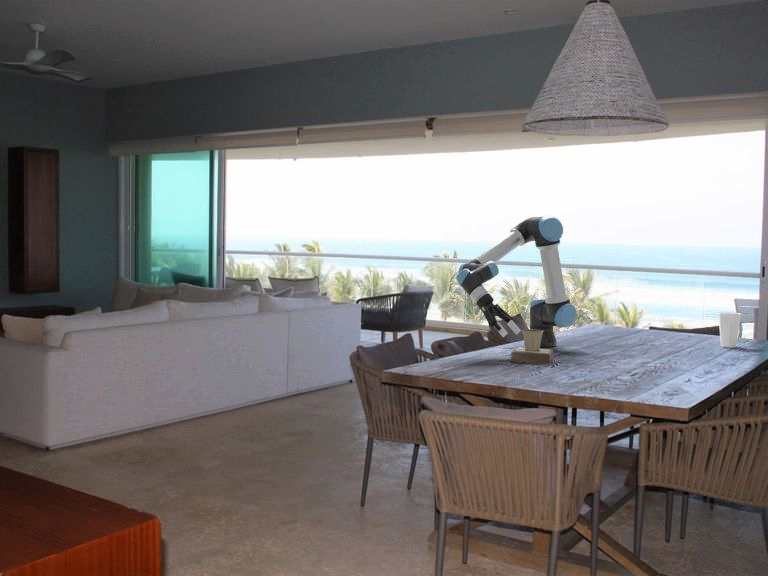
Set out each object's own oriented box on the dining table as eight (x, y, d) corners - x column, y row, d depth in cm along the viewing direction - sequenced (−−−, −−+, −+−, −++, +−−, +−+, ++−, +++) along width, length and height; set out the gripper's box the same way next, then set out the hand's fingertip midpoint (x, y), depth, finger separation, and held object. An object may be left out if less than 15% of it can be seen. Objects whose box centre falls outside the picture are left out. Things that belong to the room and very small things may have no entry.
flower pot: (517, 349, 346) (517, 329, 345) (536, 348, 348) (537, 329, 348) (527, 352, 337) (528, 331, 336) (547, 351, 340) (547, 331, 339)
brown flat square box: (516, 356, 353) (516, 347, 353) (552, 358, 348) (553, 348, 348) (511, 361, 338) (511, 351, 337) (549, 363, 333) (549, 353, 333)
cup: (712, 346, 401) (714, 312, 400) (722, 345, 408) (723, 311, 407) (735, 348, 392) (736, 314, 392) (743, 347, 399) (745, 313, 398)
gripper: (488, 302, 367) (518, 337, 360) (463, 305, 347) (494, 342, 339) (499, 291, 364) (529, 326, 357) (474, 293, 343) (505, 330, 336)
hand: (512, 334), depth 348 cm, fingers open, 13 cm apart
